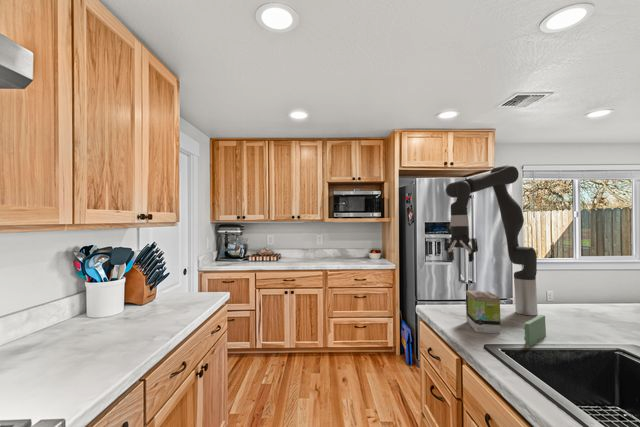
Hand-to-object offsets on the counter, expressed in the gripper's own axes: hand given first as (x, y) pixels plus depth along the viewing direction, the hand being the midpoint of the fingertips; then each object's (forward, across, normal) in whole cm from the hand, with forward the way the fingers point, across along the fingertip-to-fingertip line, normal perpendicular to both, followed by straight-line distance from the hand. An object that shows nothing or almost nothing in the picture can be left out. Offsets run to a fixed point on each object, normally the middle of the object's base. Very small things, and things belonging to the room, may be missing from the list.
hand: (461, 261), depth 139 cm
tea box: (+29, -7, -2) cm, 30 cm away
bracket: (+28, -27, -1) cm, 39 cm away
